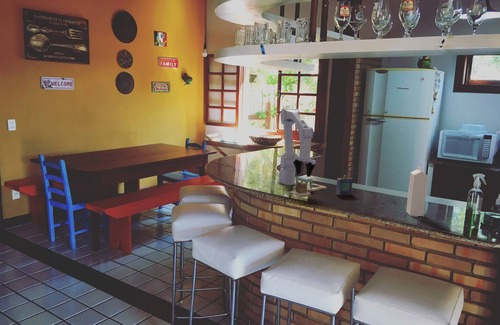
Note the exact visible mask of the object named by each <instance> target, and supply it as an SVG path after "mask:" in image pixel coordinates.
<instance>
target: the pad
mask: <svg viewBox="0 0 500 325" xmlns="http://www.w3.org/2000/svg"><path fill="white" fill-rule="evenodd" d="M289 193H290V194H292V195H295V196H300V197H302V196H308V195H311V194H312V193H311V192H306V193H298V192H296V190H290V191H289Z"/></svg>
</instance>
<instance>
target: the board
mask: <svg viewBox="0 0 500 325" xmlns="http://www.w3.org/2000/svg"><path fill="white" fill-rule="evenodd" d="M292 187H293V188H294V190H296V186H292ZM293 188H292V189H293ZM326 189H327V186H325V185H320V184H318V183H317V184H316V183H312V188H310V183H308V184H307V189H306V192H309V193H311V192H314V191H321V190H326Z"/></svg>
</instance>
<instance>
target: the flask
mask: <svg viewBox="0 0 500 325" xmlns="http://www.w3.org/2000/svg"><path fill="white" fill-rule="evenodd" d="M353 180H354V179H353V178H352V177H349V176H346V174H343V176H342V177H341V178H340V177H339V178H337V179H336V189H335V196H340V197H341V196H351V195H352V190H353Z"/></svg>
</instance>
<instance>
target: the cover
mask: <svg viewBox="0 0 500 325" xmlns="http://www.w3.org/2000/svg"><path fill="white" fill-rule="evenodd" d="M313 181H314V179H313V178H312V177H307V176H304V175H301V176H295V183H297V182H304V183H307V184H310V188H312V184H314V183H313ZM295 186H296V184H295ZM295 186H294V187H295ZM306 189H307V187H306Z"/></svg>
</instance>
